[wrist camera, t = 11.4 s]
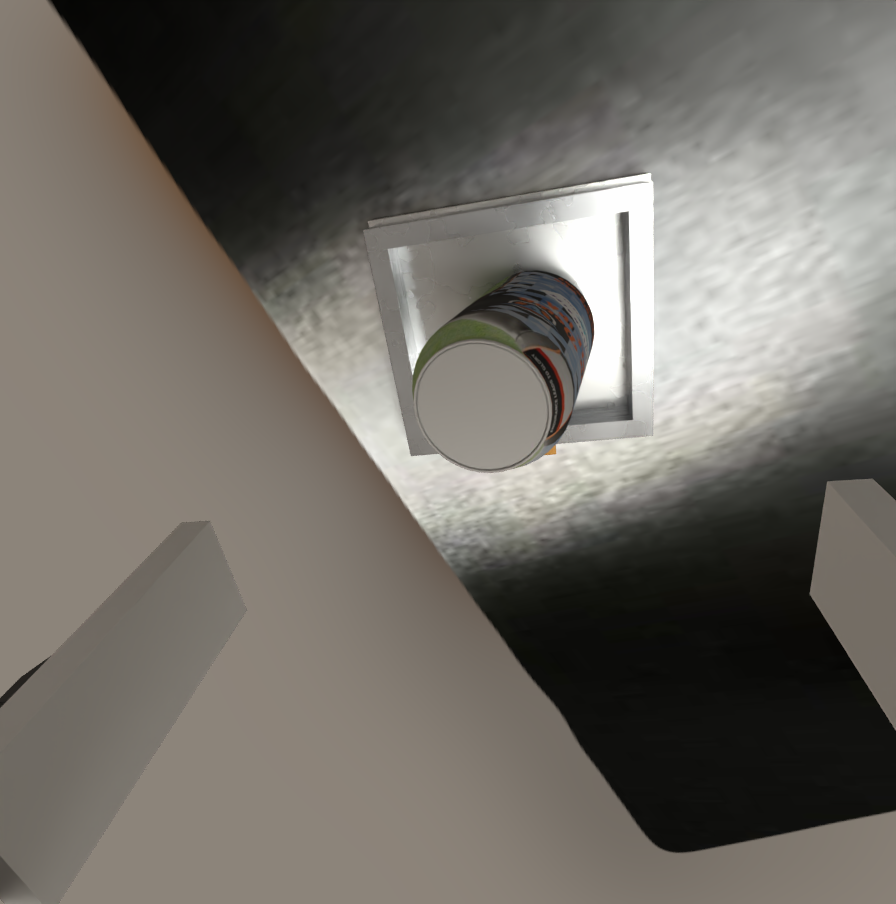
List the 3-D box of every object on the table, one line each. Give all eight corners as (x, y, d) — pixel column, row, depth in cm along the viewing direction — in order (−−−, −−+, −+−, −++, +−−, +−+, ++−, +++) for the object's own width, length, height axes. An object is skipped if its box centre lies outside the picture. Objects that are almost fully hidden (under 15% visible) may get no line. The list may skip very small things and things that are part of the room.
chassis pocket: (372, 219, 29) (350, 227, 26) (646, 172, 26) (663, 174, 23) (417, 437, 34) (403, 468, 31) (648, 416, 32) (662, 448, 28)
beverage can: (595, 374, 30) (623, 488, 19) (460, 390, 32) (419, 503, 21) (587, 252, 27) (615, 307, 17) (440, 275, 29) (381, 339, 18)
